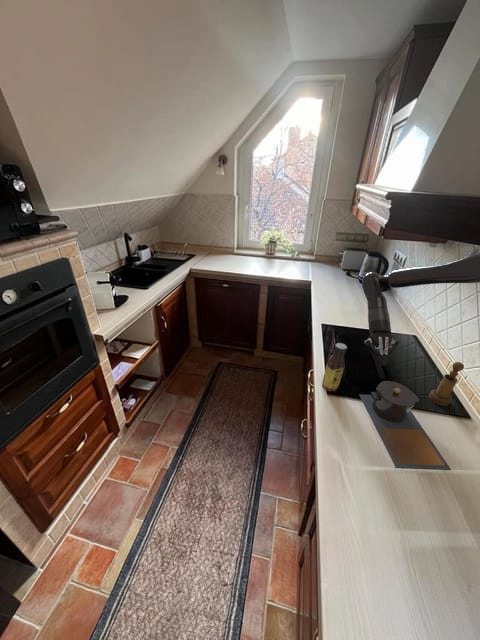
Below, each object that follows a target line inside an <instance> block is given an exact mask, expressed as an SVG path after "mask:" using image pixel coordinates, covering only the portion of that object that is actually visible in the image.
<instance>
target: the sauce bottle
mask: <svg viewBox="0 0 480 640" xmlns="http://www.w3.org/2000/svg"><path fill="white" fill-rule="evenodd" d="M347 349H348V346H347V345H346V344H345V343H342V342H337V343H335V346H334V351H333V353H332V354H331V355H330V356H329V357H328V360H327V363H326V365H325V370H324V374H323V377H322V382H321V385H322V389H324V390H326V391H327V392H331V393H332V391H333V392H336V391H338V388H339V386H340V383H341V380H342V377H343V373H344V370H345V367H346V364H345V363H346V362H345V355H346V352H347Z"/></svg>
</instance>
